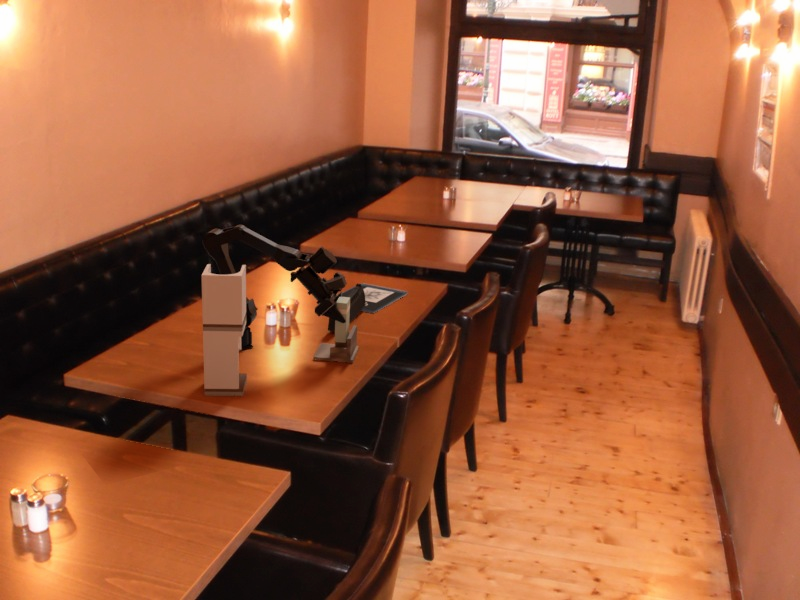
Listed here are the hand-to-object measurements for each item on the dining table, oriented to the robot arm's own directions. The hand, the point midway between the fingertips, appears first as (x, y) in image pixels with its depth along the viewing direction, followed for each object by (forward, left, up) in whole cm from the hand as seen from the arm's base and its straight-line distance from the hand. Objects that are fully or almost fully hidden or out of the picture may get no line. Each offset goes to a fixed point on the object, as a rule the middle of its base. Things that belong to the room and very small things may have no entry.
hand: (346, 319), depth 270 cm
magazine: (+19, +28, -13) cm, 36 cm away
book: (-1, +1, -7) cm, 7 cm away
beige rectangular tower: (-44, -5, -12) cm, 46 cm away
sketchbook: (+40, +47, -13) cm, 63 cm away
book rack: (-2, +2, -12) cm, 13 cm away
